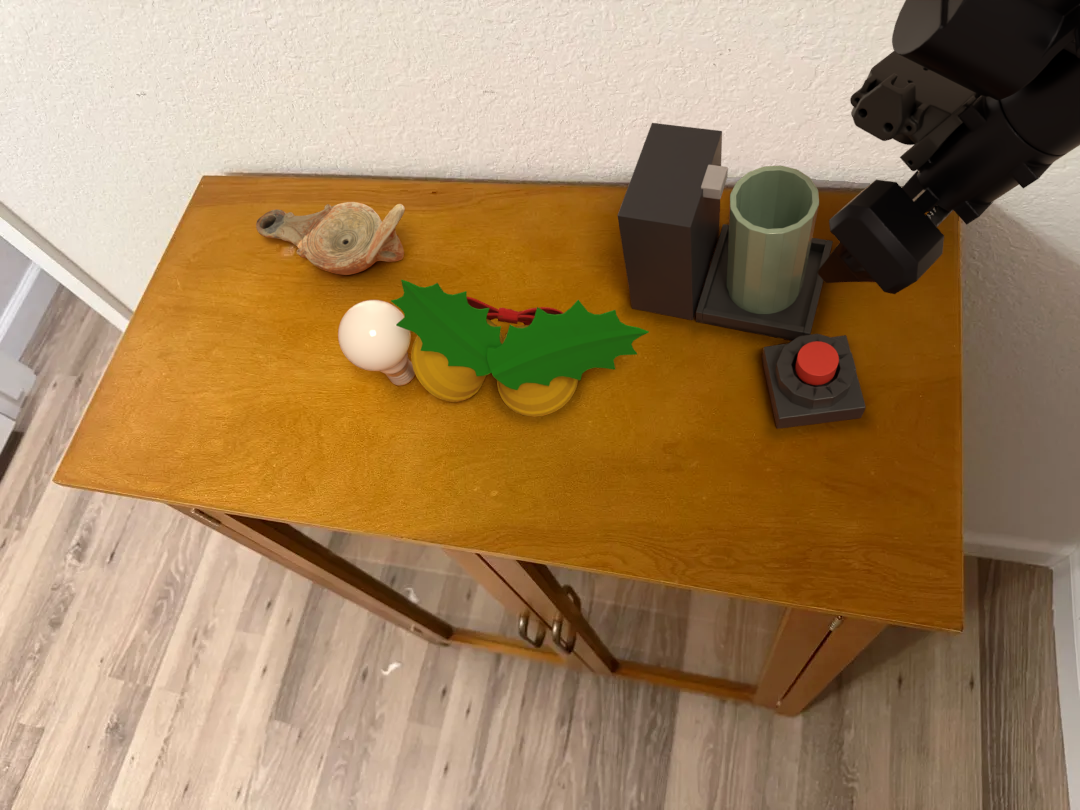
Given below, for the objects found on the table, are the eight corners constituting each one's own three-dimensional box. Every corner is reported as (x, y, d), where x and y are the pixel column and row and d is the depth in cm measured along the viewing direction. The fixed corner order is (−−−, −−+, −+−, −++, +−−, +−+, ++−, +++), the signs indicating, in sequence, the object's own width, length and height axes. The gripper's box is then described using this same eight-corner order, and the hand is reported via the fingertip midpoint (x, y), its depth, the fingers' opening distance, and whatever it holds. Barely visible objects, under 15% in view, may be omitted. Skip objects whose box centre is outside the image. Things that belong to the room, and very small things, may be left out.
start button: (830, 348, 65) (834, 338, 63) (839, 382, 63) (843, 372, 62) (791, 354, 65) (793, 344, 64) (799, 387, 64) (801, 378, 62)
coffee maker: (830, 252, 73) (856, 143, 60) (807, 344, 69) (830, 248, 57) (660, 225, 78) (651, 119, 65) (631, 309, 74) (616, 215, 62)
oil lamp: (417, 306, 79) (381, 247, 70) (252, 265, 86) (200, 207, 77) (450, 239, 82) (420, 174, 73) (288, 205, 89) (242, 142, 80)
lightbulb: (361, 390, 76) (312, 332, 66) (397, 339, 78) (354, 276, 68) (412, 415, 74) (368, 359, 64) (447, 362, 76) (410, 300, 66)
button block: (842, 347, 68) (849, 323, 65) (861, 418, 65) (870, 398, 62) (761, 358, 70) (764, 336, 66) (776, 429, 66) (780, 409, 63)
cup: (812, 265, 72) (831, 177, 61) (786, 324, 70) (800, 243, 59) (742, 245, 74) (748, 157, 64) (714, 301, 72) (716, 219, 62)
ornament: (610, 373, 77) (648, 255, 66) (610, 439, 72) (652, 322, 60) (403, 343, 76) (407, 216, 64) (387, 408, 70) (388, 281, 59)
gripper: (1012, -43, 49) (847, 115, 63) (861, 73, 41) (711, 225, 55) (1132, 88, 48) (939, 218, 62) (1003, 231, 40) (815, 343, 54)
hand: (854, 245), depth 58 cm, fingers open, 9 cm apart
